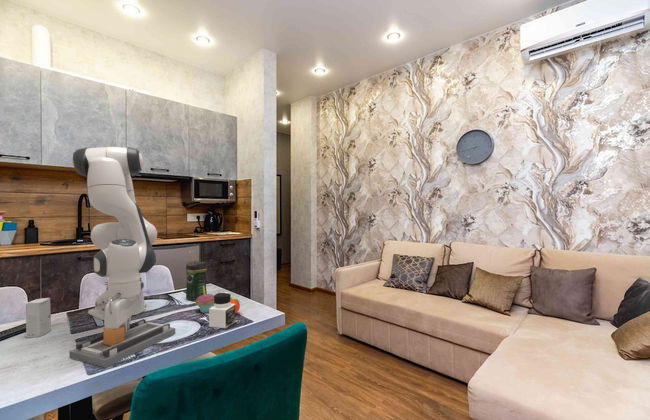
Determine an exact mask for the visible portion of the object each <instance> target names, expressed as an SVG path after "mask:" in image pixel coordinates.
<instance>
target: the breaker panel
mask: <svg viewBox="0 0 650 420" xmlns="http://www.w3.org/2000/svg"><path fill="white" fill-rule="evenodd" d="M163 325H164V324H162V323H155V322H151V321H147V322H146V323H144V321H142V322H139V323H138V326H137V327H134V328H131V329H129V330H128V331H127V332H126V333H124V341H122V342H120V343H118V344H115V345H113V346H110V345H106V344H104V340H101V341H99V342H96V343H94V344H91V345H90V342H87V343H85V344H82V348H81V349H76V348H74V349H72V350H69V356H68V357H69V359H73V360H75V361H80V362H83V363H87V364H90V365H94V366H98V367H102V368H107V367H110V366H112V365H114V364H115V363H116V364H117V363H118V362H119V361H122V360H124V359H126V358H129V357H130V355H131V356H133V355H135V354H137V353H139V352H140V351H143V350H145V349H148V348H149V347H151V346H153V345H155V344H157V343H160V342H161V341H163V340H165V339H167V338H170V337H172V336H174V335H175V334H176V328H175V327H171V326H170V328H168V325H167V326H165V327H163V331H161V332H159V333H156V334H154V335H152V336H150V337H148V338H145V339H143V340H141V341H139V342H136V343H134V344H132V345H130V346H128V347H125V348H123V349H121V350H119V351H117V348H115V349H113V350H110V351H109V355H108V356H103V351H105V350H107V349H110V348H112V347H114V346H117V345H119V344H121V343H124V342H126V341H128V340H131V339H133V338H135V337H138V336H140V335H142V334H144V333H147V332H149V331H151V330H154V329H156V328H158V327H161V326H163ZM85 341H86V340H85ZM85 341H83V342H85ZM80 343H81V342H79V343H78V344H80ZM128 356H129V357H128ZM123 358H124V359H123ZM121 359H122V360H121ZM113 363H114V364H113ZM111 364H112V365H111ZM109 365H110V366H109Z"/></svg>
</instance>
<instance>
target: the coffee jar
mask: <svg viewBox="0 0 650 420" xmlns="http://www.w3.org/2000/svg"><path fill="white" fill-rule="evenodd" d="M207 269H208V268H207V263H206V262H204V261H197V260H194V261H193V260H192V261H188V262H186V265H185V272H186V290H185V291H186V292H185V297H186V300H188V301H193V302H196V299H197V298H198V297H199V296H201V295H204V292H203V285H204V286H205V294H208V292H207Z"/></svg>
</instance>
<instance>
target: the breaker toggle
mask: <svg viewBox="0 0 650 420" xmlns="http://www.w3.org/2000/svg"><path fill="white" fill-rule="evenodd" d="M103 334H104V344H106V345H110V346H113V345H115V344H118V343H120V342H122V341H124V327H122V326H120V327H118V328H115V329H106V328H105V327H103Z"/></svg>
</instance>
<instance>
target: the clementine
mask: <svg viewBox="0 0 650 420" xmlns="http://www.w3.org/2000/svg"><path fill="white" fill-rule="evenodd" d="M230 304H235V315H236V314H237V313H238V312H239V311H240V309H241V300H239V299H238V298H235V297H231V303H230Z"/></svg>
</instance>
